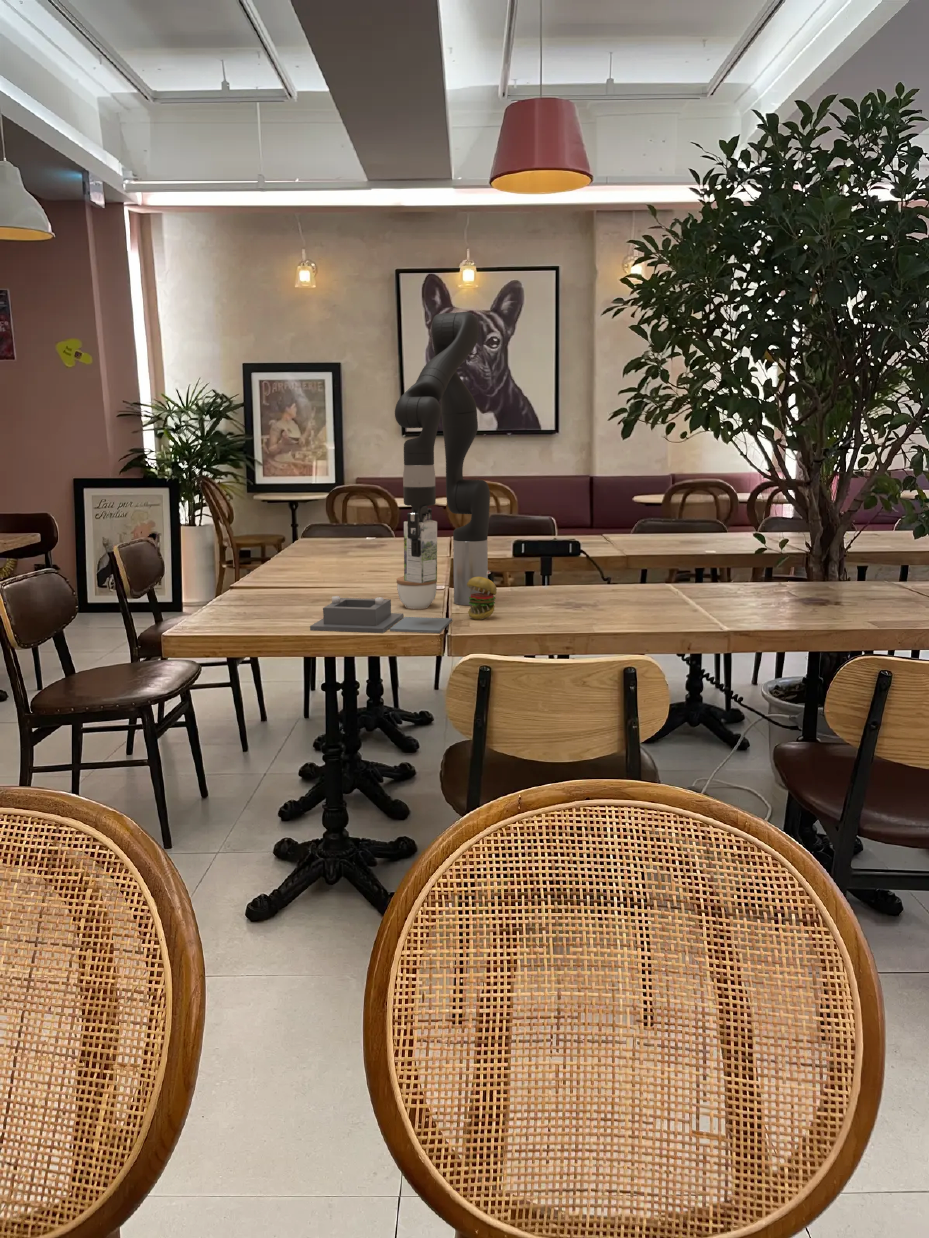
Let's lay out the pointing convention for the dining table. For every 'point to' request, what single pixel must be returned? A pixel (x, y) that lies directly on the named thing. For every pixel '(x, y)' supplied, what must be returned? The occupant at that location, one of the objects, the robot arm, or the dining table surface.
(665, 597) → the dining table surface
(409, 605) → the lidded jar
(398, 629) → the mat
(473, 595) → the hamburger
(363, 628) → the holder
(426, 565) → the syrup box
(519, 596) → the dining table surface
